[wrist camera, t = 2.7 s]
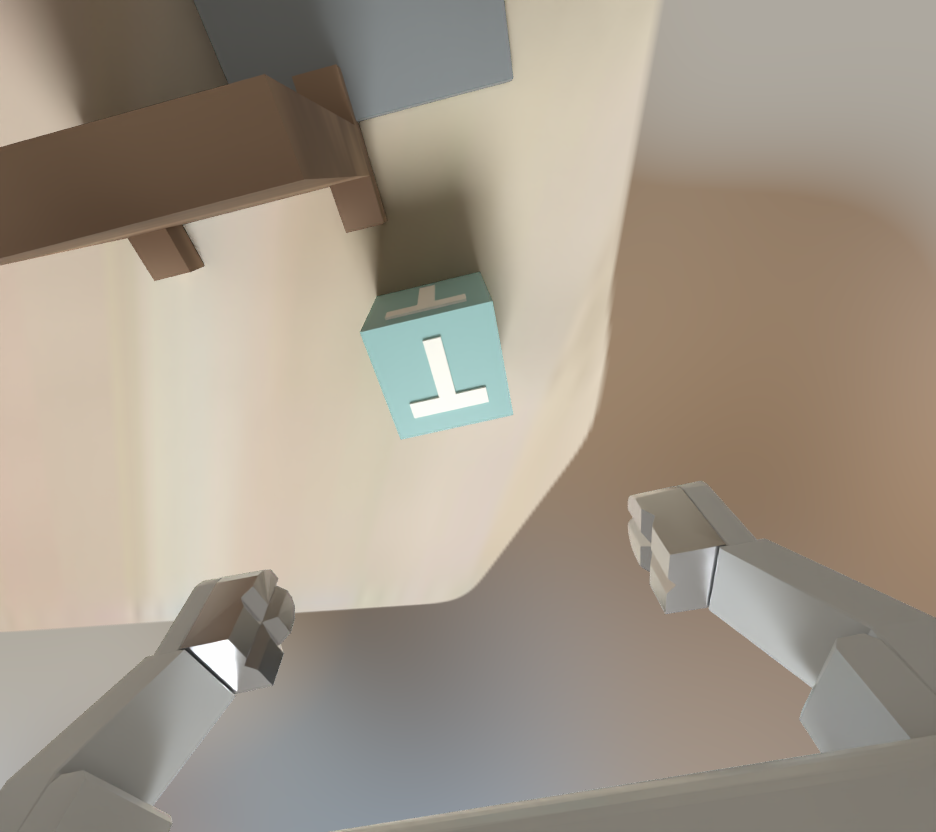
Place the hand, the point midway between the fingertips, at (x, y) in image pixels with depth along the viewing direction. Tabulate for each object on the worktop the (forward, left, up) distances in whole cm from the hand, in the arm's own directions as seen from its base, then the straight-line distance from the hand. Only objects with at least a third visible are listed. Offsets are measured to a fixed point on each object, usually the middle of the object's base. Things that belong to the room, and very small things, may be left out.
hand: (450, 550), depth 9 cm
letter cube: (0, 0, -13) cm, 13 cm away
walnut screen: (-8, -6, -13) cm, 17 cm away
